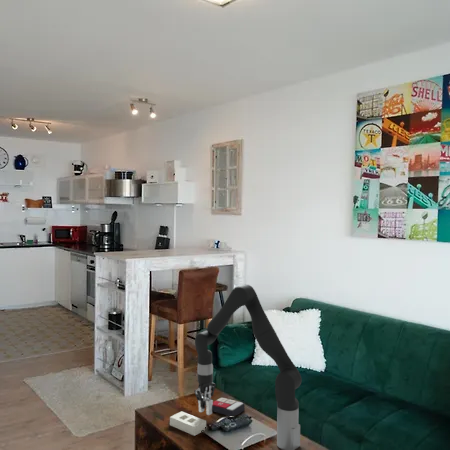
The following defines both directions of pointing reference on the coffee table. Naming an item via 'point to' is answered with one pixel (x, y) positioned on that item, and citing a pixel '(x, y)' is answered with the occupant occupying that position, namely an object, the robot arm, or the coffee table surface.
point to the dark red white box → (227, 407)
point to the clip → (207, 406)
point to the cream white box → (187, 423)
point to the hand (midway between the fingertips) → (205, 406)
